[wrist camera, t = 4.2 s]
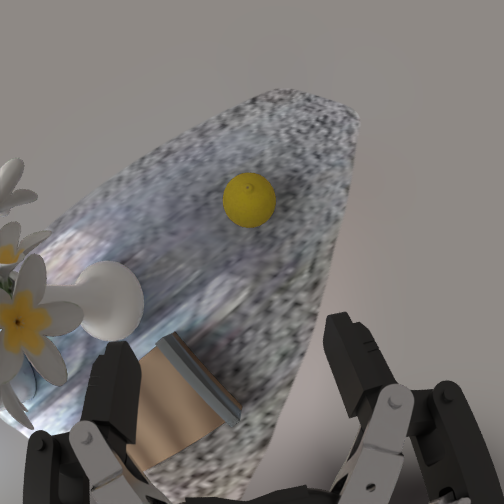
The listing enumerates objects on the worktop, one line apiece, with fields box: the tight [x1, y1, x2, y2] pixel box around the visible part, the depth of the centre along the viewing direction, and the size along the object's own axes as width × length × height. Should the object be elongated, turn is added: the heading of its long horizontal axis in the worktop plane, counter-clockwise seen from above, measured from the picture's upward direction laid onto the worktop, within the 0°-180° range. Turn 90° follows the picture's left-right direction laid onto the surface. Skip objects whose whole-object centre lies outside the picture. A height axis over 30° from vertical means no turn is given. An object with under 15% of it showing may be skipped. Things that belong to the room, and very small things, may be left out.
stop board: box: [126, 332, 242, 471], centre depth 29 cm, size 18×12×4 cm, turn 131°
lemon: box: [223, 173, 276, 228], centre depth 30 cm, size 6×6×8 cm
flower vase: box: [0, 158, 144, 430], centre depth 20 cm, size 13×18×25 cm
